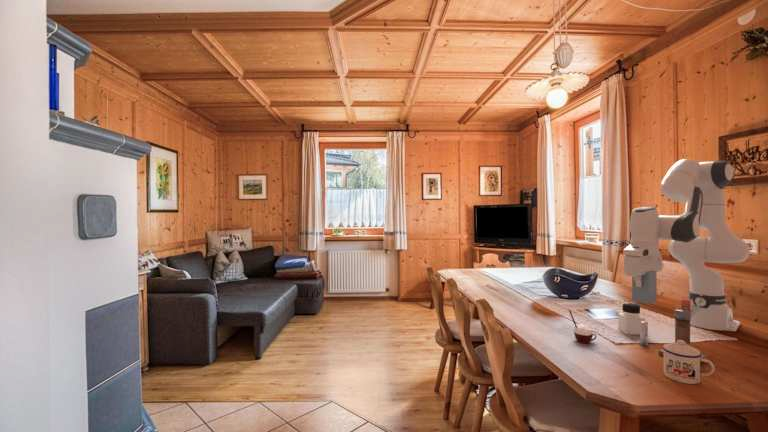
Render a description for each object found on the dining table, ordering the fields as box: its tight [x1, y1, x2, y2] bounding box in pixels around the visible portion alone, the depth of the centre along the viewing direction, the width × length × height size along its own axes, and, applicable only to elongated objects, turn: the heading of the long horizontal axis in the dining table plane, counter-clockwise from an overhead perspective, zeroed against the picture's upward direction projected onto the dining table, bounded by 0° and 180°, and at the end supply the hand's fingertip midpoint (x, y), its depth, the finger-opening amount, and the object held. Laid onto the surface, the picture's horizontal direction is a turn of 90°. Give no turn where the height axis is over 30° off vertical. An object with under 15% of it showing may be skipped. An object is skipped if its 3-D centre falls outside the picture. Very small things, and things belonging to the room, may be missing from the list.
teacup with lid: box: [662, 340, 716, 385], centre depth 106 cm, size 12×9×12 cm
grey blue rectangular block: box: [631, 271, 658, 305], centre depth 131 cm, size 6×6×12 cm
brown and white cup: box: [568, 309, 597, 344], centre depth 137 cm, size 10×6×12 cm, turn 47°
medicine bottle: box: [617, 302, 646, 336], centre depth 145 cm, size 7×7×12 cm
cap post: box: [639, 320, 649, 347], centre depth 132 cm, size 2×2×9 cm
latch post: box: [658, 318, 708, 364], centre depth 121 cm, size 10×10×13 cm
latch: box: [673, 297, 699, 321], centre depth 125 cm, size 4×18×6 cm, turn 127°
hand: (644, 285), depth 131 cm, fingers closed on grey blue rectangular block, 6 cm apart
